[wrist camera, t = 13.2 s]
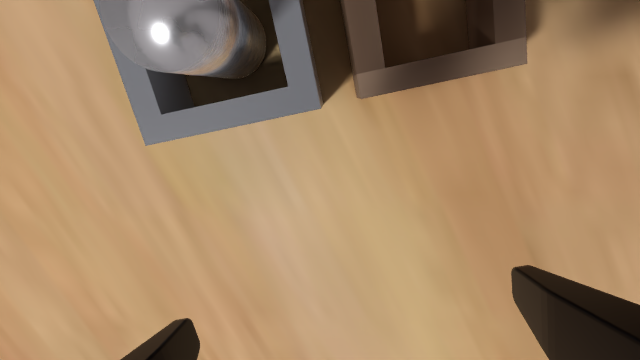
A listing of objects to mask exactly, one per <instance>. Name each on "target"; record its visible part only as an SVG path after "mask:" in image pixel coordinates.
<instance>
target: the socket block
mask: <svg viewBox="0 0 640 360" xmlns="http://www.w3.org/2000/svg"><path fill="white" fill-rule="evenodd" d="M465 1H466V14H467V27H468V40H469V50H465V51H460V52H456V53H451V54H447V55H442V56H438V57H433V58H429V59H424V60H419V61H415V62H410V63H406V64H401V65H397V66H392V67H388V68H385V63H384V56H383V50H382V43H381V36H380V29H379V22H378V15H377V9H376V2H375V0H340V4H341V10H342V15H343V21H344V27H345V33H346V38H347V44H348V50H349V56H350V62H351V67H352V73H353V79H354V85H355V90H356V96H357V98H360V99H363V98H368V97H373V96H378V95H382V94H387V93H392V92H396V91H401V90H406V89H411V88H415V87H420V86H425V85H429V84H434V83H439V82H443V81H448V80H453V79H458V78H462V77H467V76H472V75H476V74H481V73H486V72H491V71H495V70H500V69H505V68H509V67H514V66H519V65H523V64H527V41H526V11H525V0H465Z"/></svg>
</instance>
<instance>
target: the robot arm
mask: <svg viewBox="0 0 640 360" xmlns="http://www.w3.org/2000/svg"><path fill="white" fill-rule="evenodd" d="M511 276H512V294H513V298H514V301H515V303H516V305H517V307H518V309H519V310H520V312H521V314H522V315H523V317H524V319H525V320H526V322H527V324H528V325H529V327H530V329H531V330H532V332H533V334H534V336H535V337H536V339H537V341H538V342H539V344H540V346H541V347H542V349H543V351H544V352H545V354H546V355H547V357H548V359H549V360H640V305H638V304H636V303H633V302H630V301H627V300H625V299H622V298H619V297H616V296H613V295H611V294H608V293H605V292H602V291H600V290H597V289H594V288H591V287H589V286H586V285H583V284H580V283H577V282H575V281H572V280H569V279H566V278H564V277H561V276H558V275H555V274H552V273H550V272H547V271H544V270H541V269H539V268H536V267H533V266H530V265H525V266H519V267H514V268H513V269H512V272H511ZM199 350H200V341H199V338H198V335H197V333H196V330H195V327H194V325H193V322H192V321H191V319H189V318H185V319H179V320H175V321H173V322H172V323H170V324H169V325H168V326H166V327H165V328H164V329H162V330H161V331H159V332H158V333H157V334H155V335H154V336H153V337H151V338H150V339H148V340H147V341H146V342H144V343H143V344H141V345H140V346H139V347H137V348H136V349H135V350H133V351H132V352H130V353H129V354H128V355H126V356H125V357H123V358H122V359H121V360H197V357H198V354H199Z"/></svg>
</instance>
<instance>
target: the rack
mask: <svg viewBox="0 0 640 360" xmlns="http://www.w3.org/2000/svg"><path fill="white" fill-rule="evenodd" d="M94 3H95V6H96V9H97V11H98V14H99V17H100V20H101V23H102V25H103V28H104V31H105V34H106V36H107V39H108V42H109V45H110V48H111V50H112V53H113V56H114V59H115V62H116V64H117V67H118V70H119V73H120V75H121V78H122V81H123V84H124V87H125V89H126V92H127V95H128V98H129V101H130V103H131V106H132V109H133V112H134V115H135V117H136V120H137V123H138V126H139V128H140V131H141V134H142V137H143V140H144V142H145V145H146V146H147V145H152V144H156V143H161V142H166V141H171V140H175V139H180V138H185V137H189V136H194V135H199V134H204V133H208V132H213V131H218V130H222V129H227V128H232V127H237V126H241V125H246V124H251V123H255V122H260V121H265V120H270V119H274V118H279V117H284V116H288V115H293V114H298V113H303V112H307V111H312V110H317V109H321V108H322V106H323V99H322V94H321V90H320V85H319V80H318V75H317V70H316V65H315V60H314V55H313V50H312V45H311V40H310V35H309V30H308V25H307V20H306V15H305V10H304V5H303V0H269V4H270V8H271V13H272V17H273V22H274V26H275V30H276V35H277V39H278V44H279V48H280V53H281V57H282V61H283V66H284V70H285V75H286V79H287V83H288V87H284V88H279V89H275V90H270V91H266V92H261V93H257V94H252V95H248V96H243V97H239V98H234V99H230V100H225V101H221V102H216V103H212V104H207V105H203V106H198V107H194V104H193V101H192V97H191V94H190V91H189V88H188V84H187V81H186V78H185V75H184V74H176V73H165V72H157V71H153V70H149V69H146V68H144V67H141V66H140V65H138V64H136V63H134V62H133V61H132V60H130V59H129V58H127V57H126V56H125V55H124V54H123V53H122V52H121V51H120V50H119V49H118V47H117V46H116V45H115V44H114V42H113V41H112V39H111V38H110V36H109V34H108V32H107V30H106V28H105V25H104V23H103V20H102V16H101V12H100V6H99V0H94Z"/></svg>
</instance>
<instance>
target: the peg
mask: <svg viewBox="0 0 640 360" xmlns="http://www.w3.org/2000/svg"><path fill="white" fill-rule="evenodd" d="M99 6H100V12H101V16H102V20H103V23H104V25H105V28H106V30H107V32H108V34H109V36H110V38H111V39H112V41H113V42H114V44H115V45H116V46H117V47H118V49H119V50H120V51H121V52H122V53H123V54H124V55H125V56H126V57H127V58H129V59H130V60H132V61H133V62H134V63H136V64H138V65H140V66H141V67H144V68H146V69H149V70H153V71H157V72H165V73H176V74H187V75H198V76H208V77H219V78H230V79H238V78H243V77H246V76H248V75H250V74H252V73H253V72H254V71H255V70H257V68H258V67H259V66H260V64H261V63H262V61H263V59H264V56H265V53H266V45H267V42H266V34H265V31H264V28H263V26H262V24H261V22H260V20H259V19H258V18H257V16H256V15H255V14H254V13H253V12H252V11H251V10H249V9H248V8H247V7H246V6H245V5H244V4H243V3H242V2H241V1H240V0H99Z"/></svg>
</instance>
